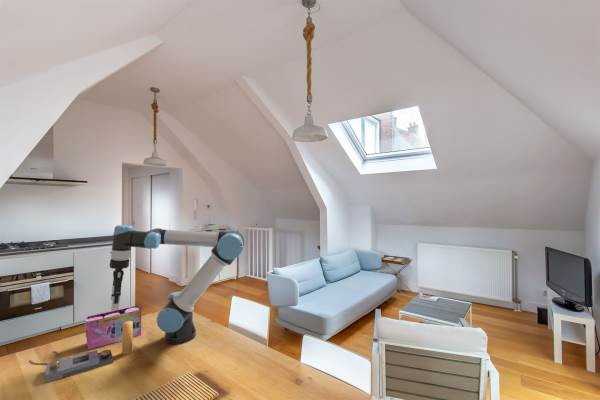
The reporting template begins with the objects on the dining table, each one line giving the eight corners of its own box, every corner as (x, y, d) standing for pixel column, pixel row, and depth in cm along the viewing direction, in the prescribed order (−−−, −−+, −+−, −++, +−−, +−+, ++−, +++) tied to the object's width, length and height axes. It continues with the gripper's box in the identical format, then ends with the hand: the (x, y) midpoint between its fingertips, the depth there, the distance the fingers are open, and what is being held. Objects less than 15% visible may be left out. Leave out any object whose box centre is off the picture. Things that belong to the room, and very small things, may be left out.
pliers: (51, 350, 132) (83, 356, 126) (51, 351, 132) (83, 358, 126) (26, 361, 122) (60, 369, 117) (26, 363, 122) (60, 371, 117)
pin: (131, 349, 133) (131, 320, 133) (133, 353, 130) (133, 323, 130) (121, 352, 131) (121, 322, 131) (122, 356, 128) (123, 325, 128)
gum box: (84, 351, 132) (85, 322, 132) (82, 344, 138) (83, 317, 138) (141, 335, 148) (142, 309, 148) (137, 329, 154) (138, 305, 154)
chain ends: (110, 352, 131) (110, 342, 131) (113, 362, 123) (113, 351, 123) (46, 370, 117) (47, 358, 117) (45, 382, 109) (45, 370, 109)
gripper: (110, 253, 138) (104, 296, 138) (110, 265, 117) (104, 316, 117) (128, 253, 142) (122, 295, 142) (131, 265, 122) (125, 314, 121)
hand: (114, 304), depth 129 cm, fingers open, 13 cm apart
